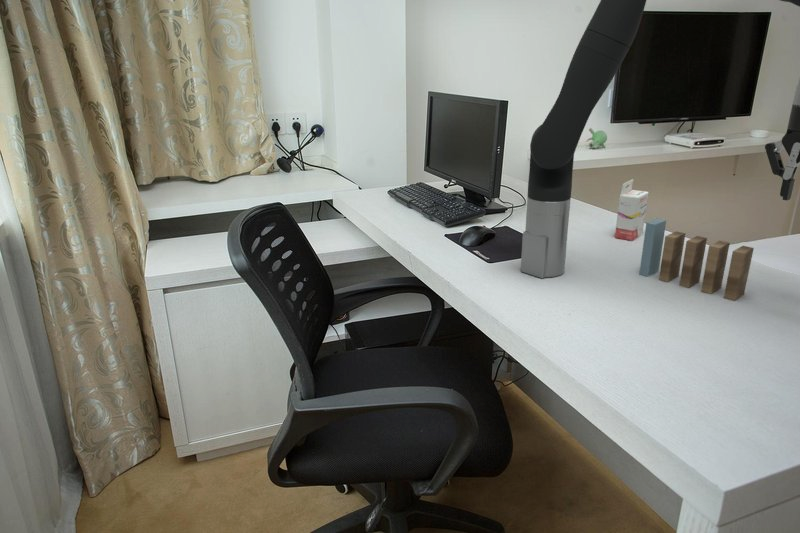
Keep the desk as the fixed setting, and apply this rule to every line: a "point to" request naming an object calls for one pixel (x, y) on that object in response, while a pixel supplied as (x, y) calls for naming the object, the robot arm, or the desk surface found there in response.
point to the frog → (597, 139)
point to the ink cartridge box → (631, 212)
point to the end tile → (652, 247)
